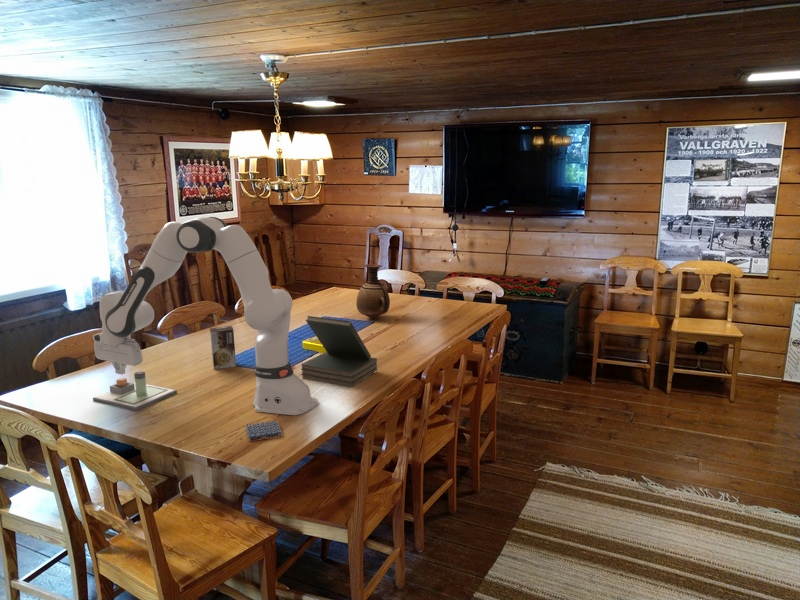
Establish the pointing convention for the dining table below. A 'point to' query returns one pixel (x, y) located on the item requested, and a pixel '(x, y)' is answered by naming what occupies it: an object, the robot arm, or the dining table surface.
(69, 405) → the dining table surface
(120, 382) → the button
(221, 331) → the coffee box
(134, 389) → the cream board with holder
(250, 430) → the woven mat
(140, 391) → the marker
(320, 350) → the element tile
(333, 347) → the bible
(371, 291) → the vase
